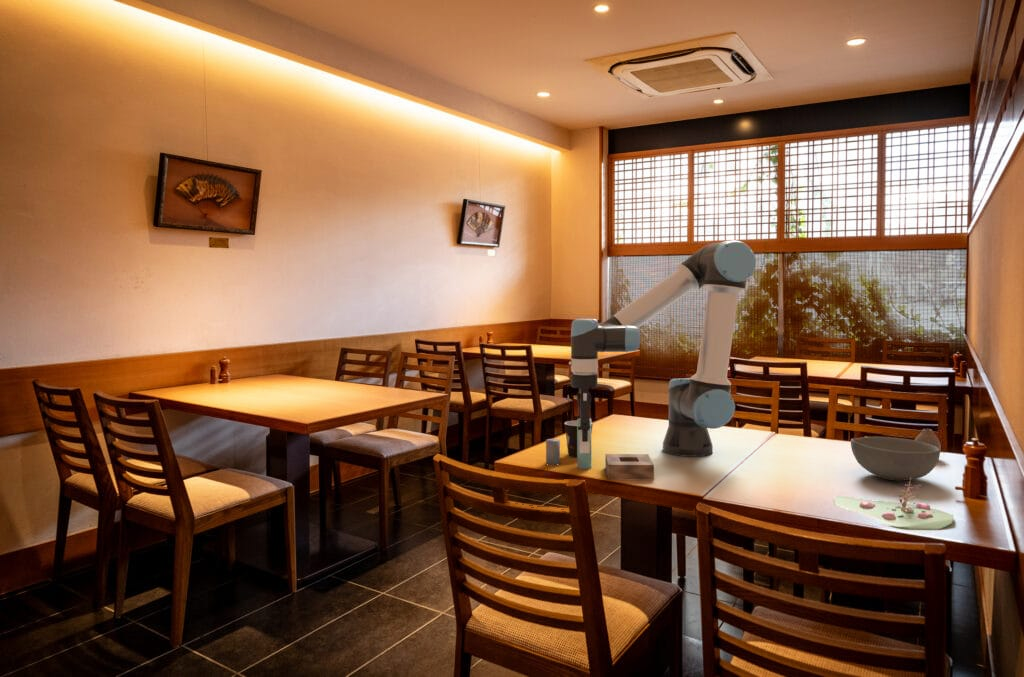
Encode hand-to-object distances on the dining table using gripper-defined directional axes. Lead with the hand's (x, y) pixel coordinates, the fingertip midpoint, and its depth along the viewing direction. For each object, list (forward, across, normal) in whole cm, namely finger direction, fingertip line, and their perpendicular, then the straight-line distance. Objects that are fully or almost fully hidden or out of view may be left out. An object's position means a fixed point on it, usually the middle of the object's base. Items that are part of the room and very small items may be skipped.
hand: (583, 447), depth 192 cm
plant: (+6, +36, +67) cm, 77 cm away
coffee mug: (+6, -16, -1) cm, 17 cm away
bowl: (+5, +9, +81) cm, 82 cm away
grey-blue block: (+6, -4, -9) cm, 11 cm away
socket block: (+6, +6, +12) cm, 15 cm away
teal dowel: (+6, 0, 0) cm, 6 cm away
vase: (+5, -13, +101) cm, 102 cm away
